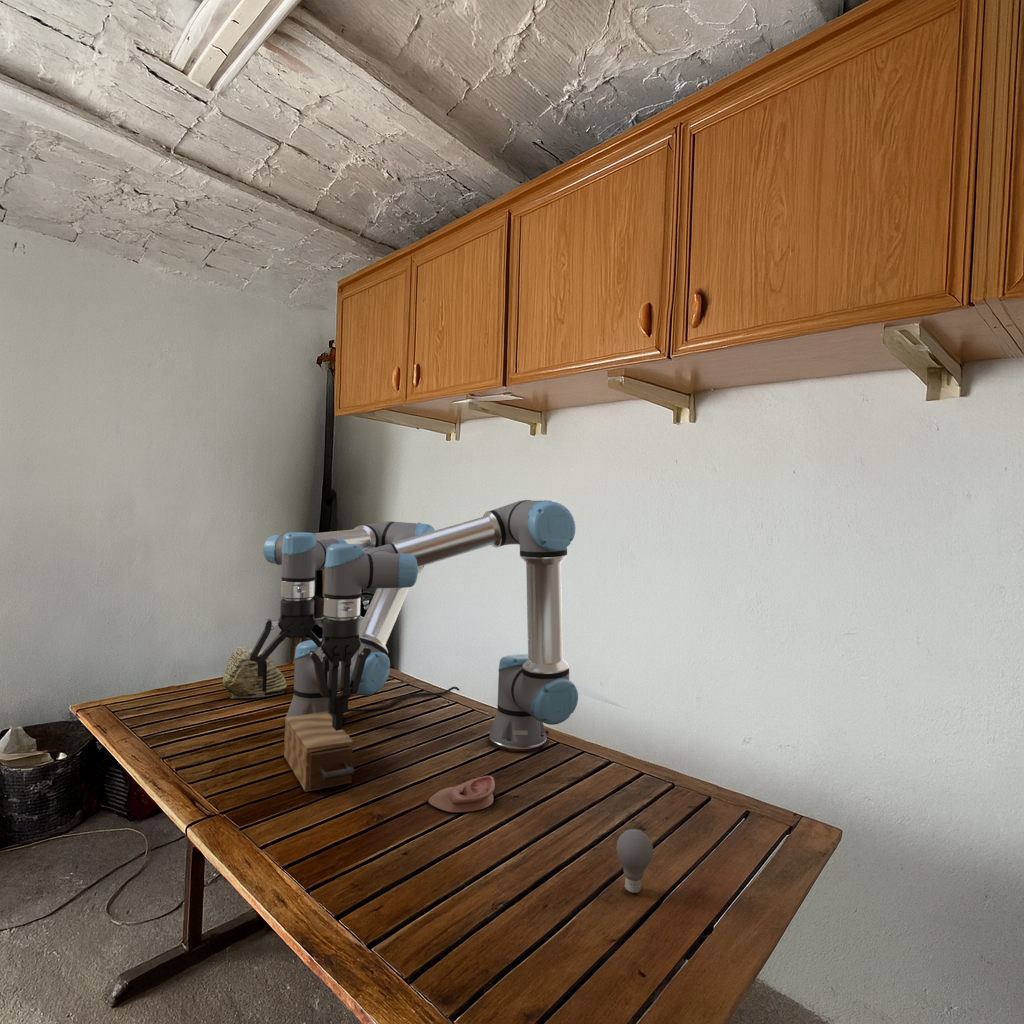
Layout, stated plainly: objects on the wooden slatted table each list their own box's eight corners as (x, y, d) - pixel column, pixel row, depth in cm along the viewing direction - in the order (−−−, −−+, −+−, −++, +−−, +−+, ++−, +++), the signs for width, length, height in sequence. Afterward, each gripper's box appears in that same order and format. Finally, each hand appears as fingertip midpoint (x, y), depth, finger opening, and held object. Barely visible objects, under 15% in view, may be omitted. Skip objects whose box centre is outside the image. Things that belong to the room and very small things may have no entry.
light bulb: (610, 879, 108) (613, 822, 108) (644, 879, 109) (647, 822, 109) (619, 902, 102) (622, 840, 102) (655, 901, 103) (658, 840, 103)
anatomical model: (423, 789, 130) (441, 766, 141) (423, 808, 130) (440, 784, 141) (486, 798, 127) (499, 774, 139) (485, 817, 128) (498, 792, 139)
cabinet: (351, 782, 141) (352, 740, 141) (305, 792, 136) (306, 748, 135) (325, 748, 159) (326, 711, 159) (283, 755, 154) (285, 717, 153)
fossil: (218, 695, 195) (220, 647, 195) (278, 685, 208) (279, 640, 207) (228, 703, 189) (230, 653, 188) (289, 692, 201) (290, 645, 201)
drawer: (359, 792, 134) (360, 758, 134) (317, 801, 130) (318, 765, 129) (326, 749, 156) (327, 719, 156) (289, 755, 151) (290, 724, 151)
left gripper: (240, 602, 140) (237, 697, 141) (354, 599, 151) (351, 687, 151) (239, 597, 147) (237, 687, 148) (348, 594, 158) (345, 678, 158)
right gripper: (314, 622, 127) (310, 739, 127) (377, 618, 134) (373, 729, 134) (305, 615, 133) (301, 726, 134) (365, 612, 140) (361, 718, 141)
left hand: (294, 687), depth 150 cm, fingers open, 13 cm apart
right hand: (337, 727), depth 134 cm, fingers closed
